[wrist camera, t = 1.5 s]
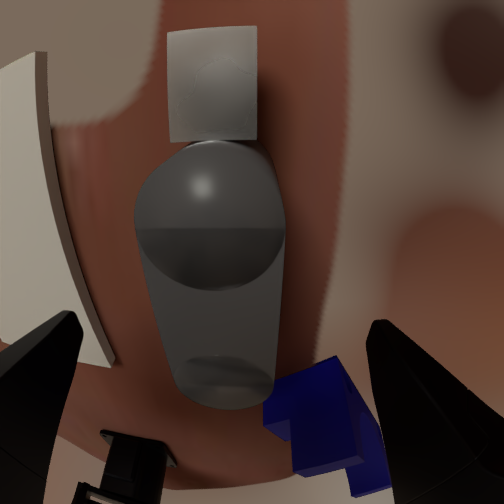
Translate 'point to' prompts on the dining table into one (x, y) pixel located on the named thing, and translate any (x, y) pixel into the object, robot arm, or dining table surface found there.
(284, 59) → the dining table surface
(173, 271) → the connector
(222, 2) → the dining table surface
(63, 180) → the dining table surface
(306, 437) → the cable clip
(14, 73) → the mat
